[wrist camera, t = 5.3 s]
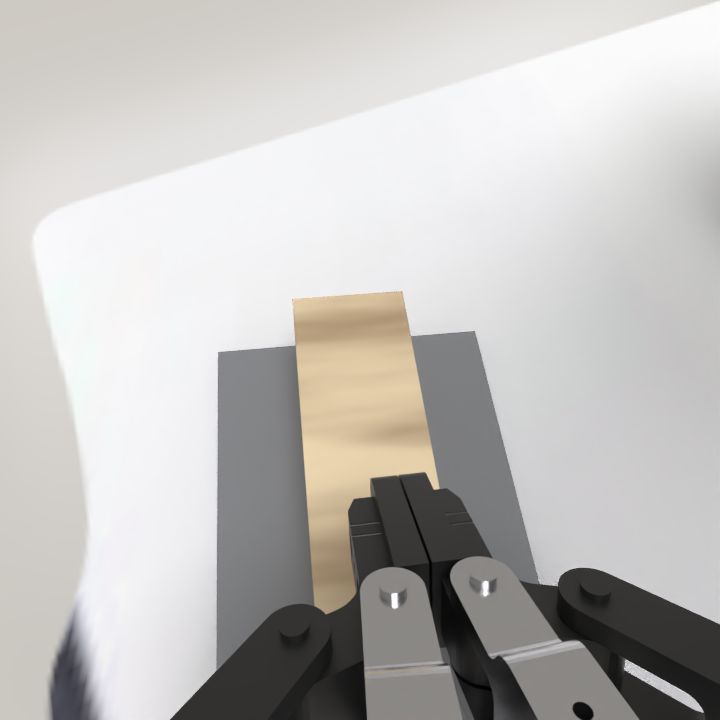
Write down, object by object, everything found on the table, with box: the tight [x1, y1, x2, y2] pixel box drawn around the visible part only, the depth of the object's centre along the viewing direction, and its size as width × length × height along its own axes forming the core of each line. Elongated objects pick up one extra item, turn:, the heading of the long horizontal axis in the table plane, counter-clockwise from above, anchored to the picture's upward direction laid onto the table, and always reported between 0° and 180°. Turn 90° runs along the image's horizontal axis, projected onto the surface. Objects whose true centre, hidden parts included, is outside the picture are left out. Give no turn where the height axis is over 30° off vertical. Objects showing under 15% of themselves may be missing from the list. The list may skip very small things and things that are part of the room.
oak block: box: [292, 291, 440, 614], centre depth 22 cm, size 5×5×14 cm
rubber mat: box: [217, 331, 539, 720], centre depth 23 cm, size 22×14×1 cm, turn 7°
